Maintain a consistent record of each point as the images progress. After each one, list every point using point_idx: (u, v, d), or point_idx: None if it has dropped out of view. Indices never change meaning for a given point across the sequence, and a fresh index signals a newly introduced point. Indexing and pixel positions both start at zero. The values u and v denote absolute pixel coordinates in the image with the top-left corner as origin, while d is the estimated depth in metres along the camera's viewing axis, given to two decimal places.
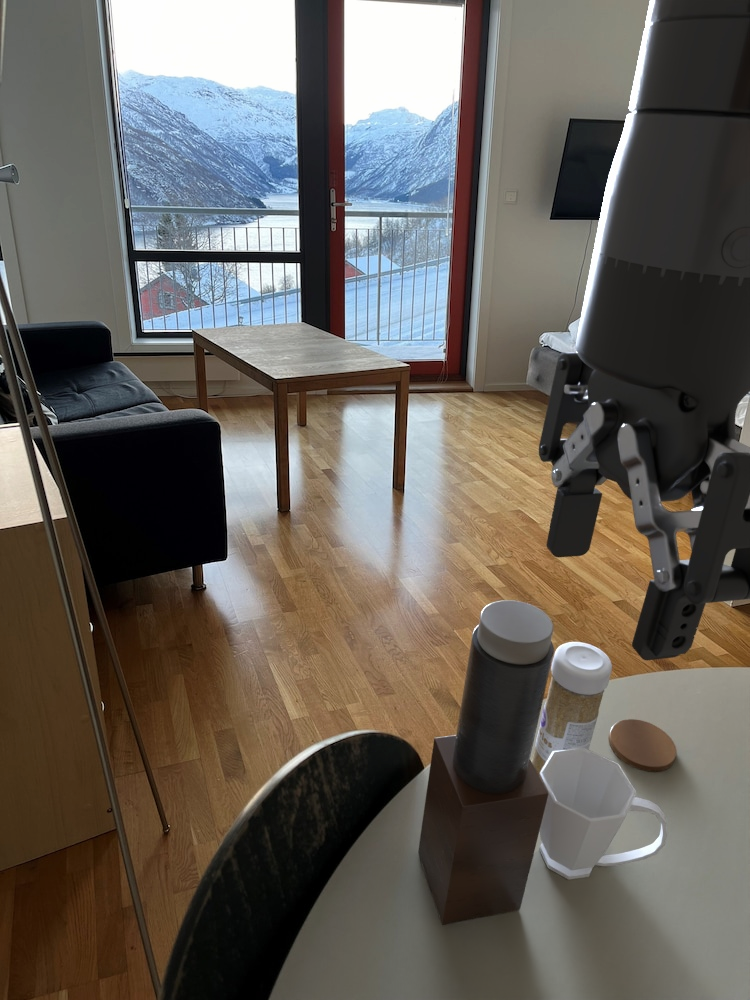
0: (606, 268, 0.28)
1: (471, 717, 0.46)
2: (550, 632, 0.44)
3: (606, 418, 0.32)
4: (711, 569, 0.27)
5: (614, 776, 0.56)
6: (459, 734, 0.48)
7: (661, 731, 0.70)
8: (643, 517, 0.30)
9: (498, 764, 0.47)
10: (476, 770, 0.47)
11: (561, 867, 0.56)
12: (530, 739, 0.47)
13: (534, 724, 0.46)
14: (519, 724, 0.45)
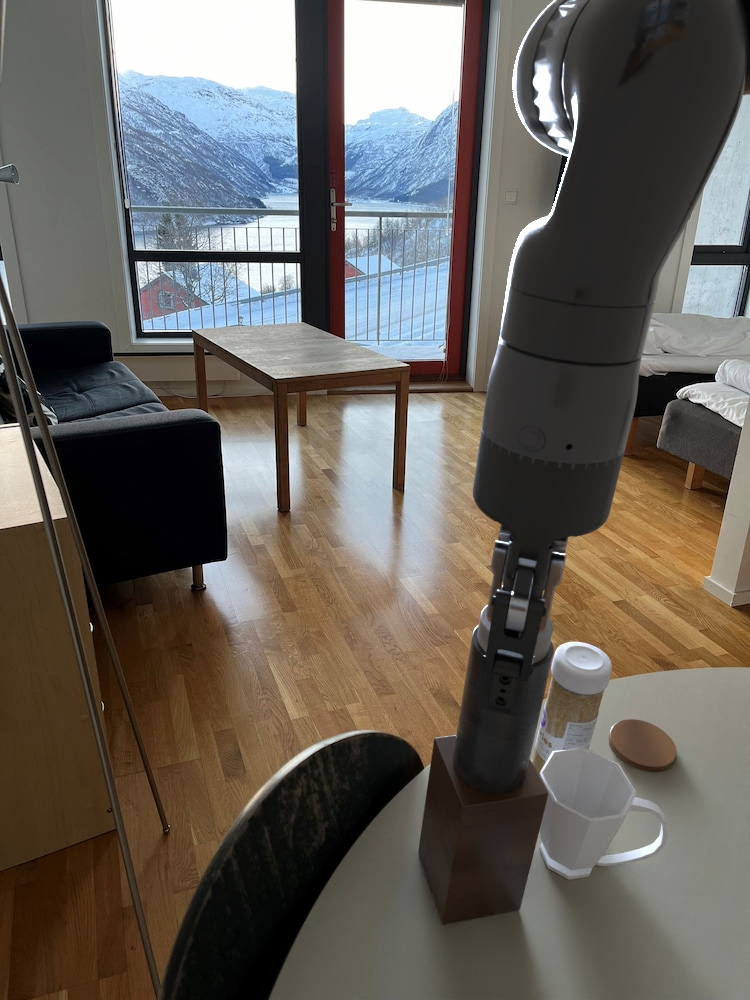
0: None
1: (471, 717, 0.46)
2: (550, 632, 0.44)
3: (502, 533, 0.43)
4: None
5: (614, 776, 0.56)
6: (459, 734, 0.48)
7: (661, 731, 0.70)
8: None
9: (498, 764, 0.47)
10: (476, 770, 0.47)
11: (561, 867, 0.56)
12: (530, 739, 0.47)
13: (534, 724, 0.46)
14: (519, 724, 0.45)
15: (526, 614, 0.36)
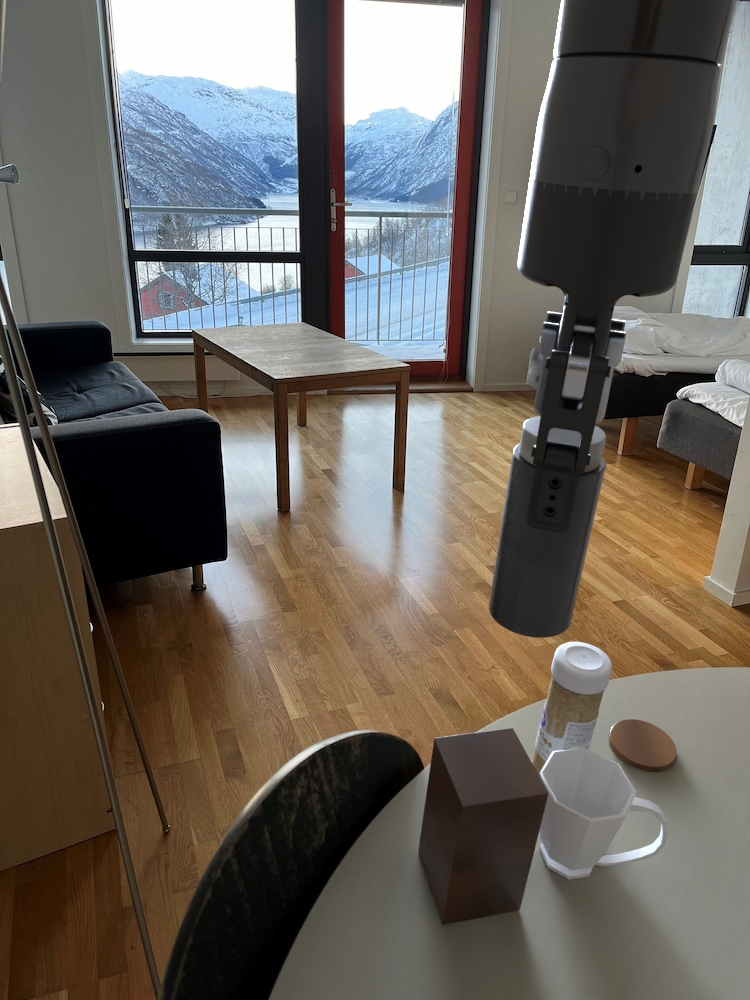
0: (528, 188, 0.35)
1: (512, 546, 0.41)
2: (603, 438, 0.39)
3: None
4: None
5: (614, 776, 0.56)
6: (497, 572, 0.43)
7: (661, 731, 0.70)
8: None
9: (542, 600, 0.42)
10: (517, 610, 0.42)
11: (561, 867, 0.56)
12: (578, 572, 0.42)
13: (583, 553, 0.41)
14: (567, 549, 0.40)
15: (587, 372, 0.31)
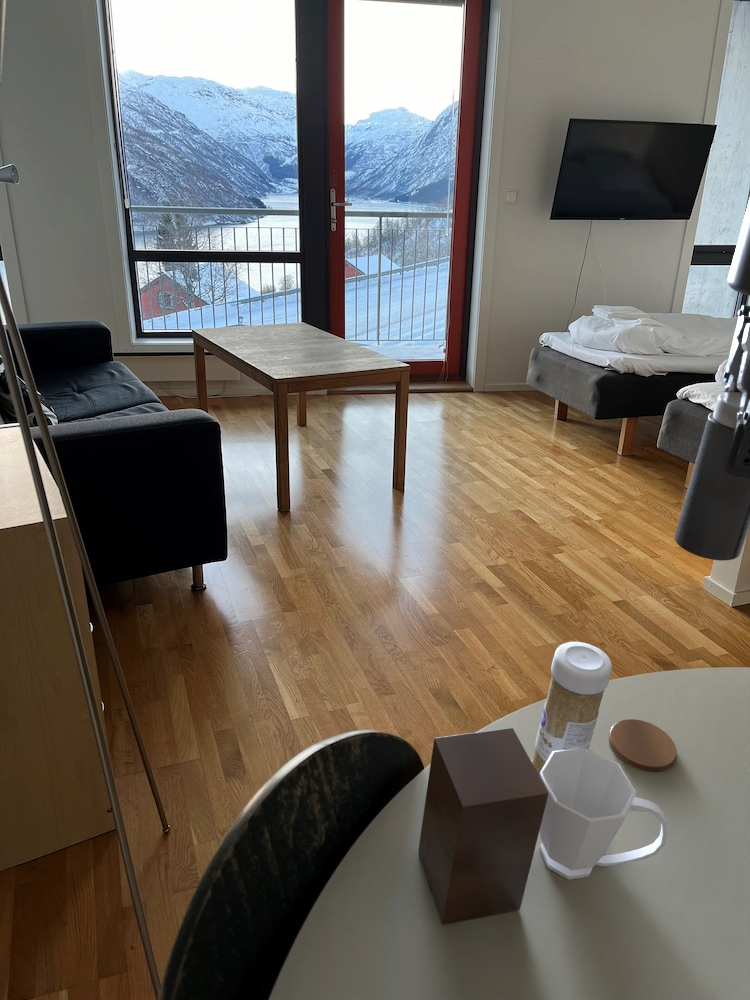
0: (743, 227, 0.49)
1: (706, 490, 0.55)
2: None
3: (745, 324, 0.52)
4: None
5: (614, 776, 0.56)
6: (688, 512, 0.57)
7: (661, 731, 0.70)
8: (739, 380, 0.51)
9: (727, 530, 0.55)
10: (706, 539, 0.56)
11: (561, 867, 0.56)
12: None
13: None
14: None
15: None
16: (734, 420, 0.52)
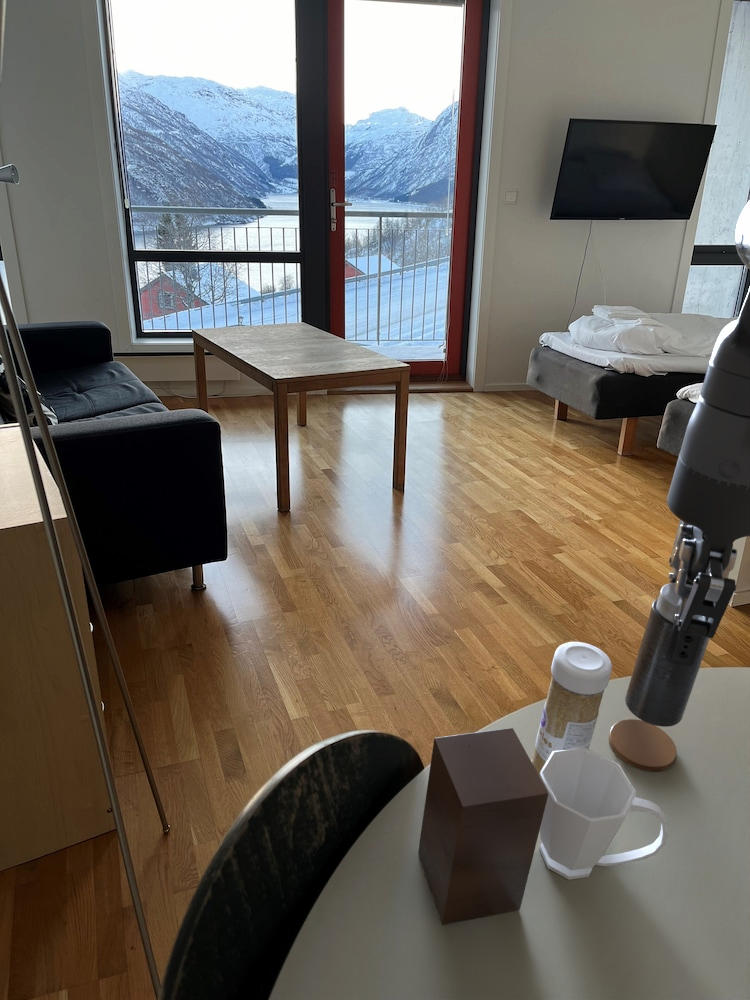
0: (678, 462, 0.57)
1: (650, 669, 0.63)
2: None
3: (683, 534, 0.60)
4: (684, 619, 0.56)
5: (614, 776, 0.56)
6: (636, 682, 0.65)
7: (661, 731, 0.70)
8: (676, 587, 0.59)
9: (668, 703, 0.63)
10: (650, 708, 0.64)
11: (561, 867, 0.56)
12: (692, 685, 0.63)
13: (696, 673, 0.63)
14: (688, 673, 0.62)
15: (722, 589, 0.53)
16: (673, 616, 0.60)
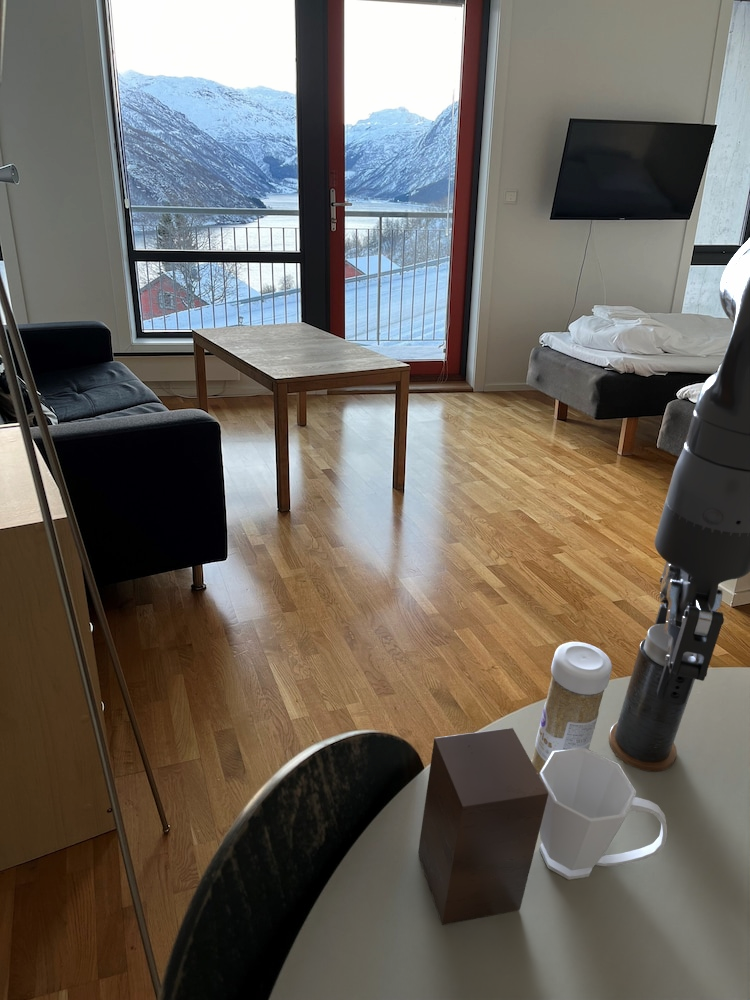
0: (665, 506, 0.58)
1: (638, 707, 0.65)
2: None
3: (670, 573, 0.62)
4: (675, 658, 0.56)
5: (614, 776, 0.56)
6: (624, 720, 0.67)
7: None
8: (666, 627, 0.59)
9: (656, 741, 0.65)
10: (638, 745, 0.66)
11: (561, 867, 0.56)
12: (679, 723, 0.65)
13: (683, 712, 0.65)
14: (675, 712, 0.64)
15: (711, 620, 0.54)
16: (659, 658, 0.62)
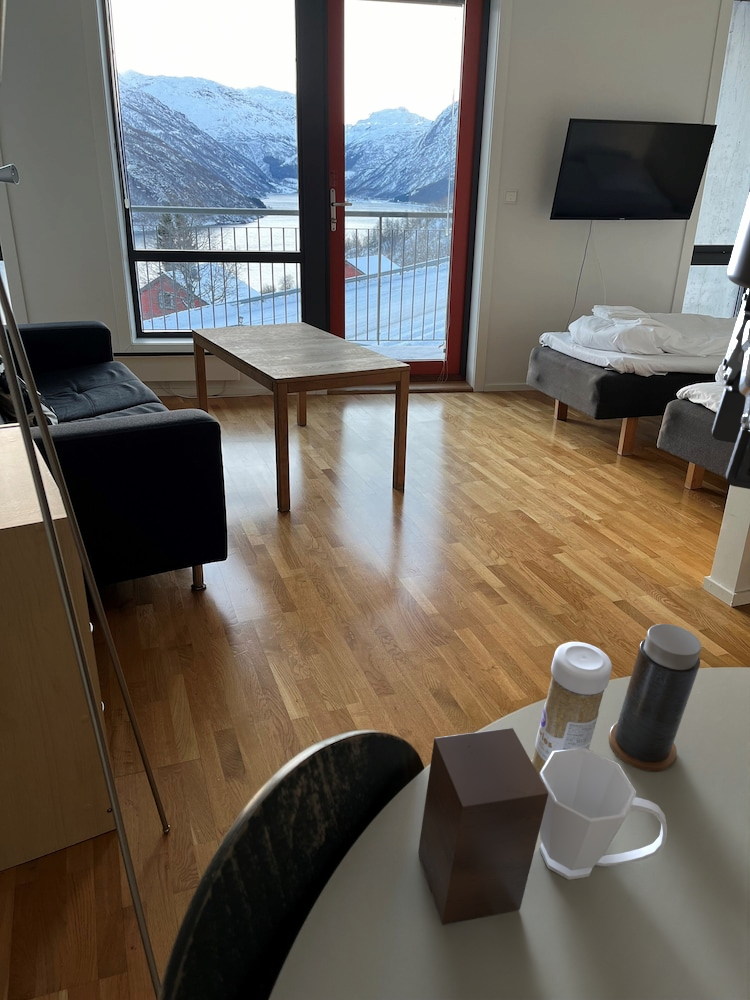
0: (745, 213, 0.44)
1: (638, 707, 0.65)
2: (700, 647, 0.62)
3: (745, 322, 0.47)
4: None
5: (614, 776, 0.56)
6: (624, 720, 0.67)
7: None
8: (742, 380, 0.45)
9: (656, 741, 0.65)
10: (638, 745, 0.66)
11: (561, 867, 0.56)
12: (679, 723, 0.65)
13: (683, 712, 0.65)
14: (675, 712, 0.64)
15: None
16: (659, 658, 0.62)
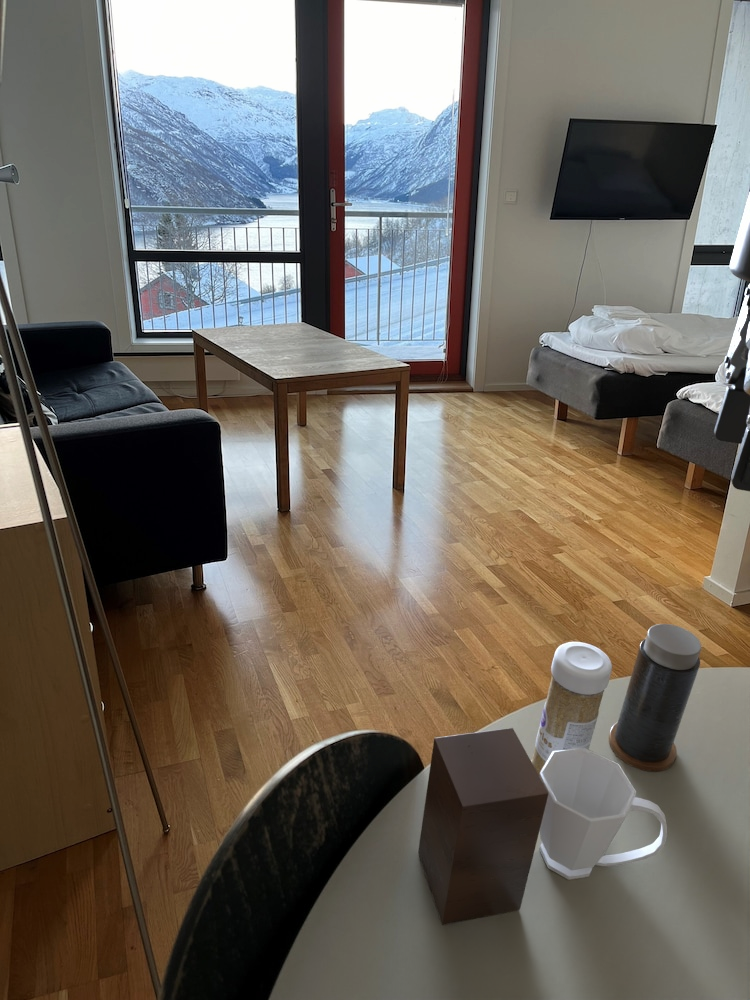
0: (748, 203, 0.42)
1: (638, 707, 0.65)
2: (700, 647, 0.62)
3: (749, 318, 0.45)
4: None
5: (614, 776, 0.56)
6: (624, 720, 0.67)
7: None
8: (747, 379, 0.43)
9: (656, 741, 0.65)
10: (638, 745, 0.66)
11: (561, 867, 0.56)
12: (679, 723, 0.65)
13: (683, 712, 0.65)
14: (675, 712, 0.64)
15: None
16: (659, 658, 0.62)
